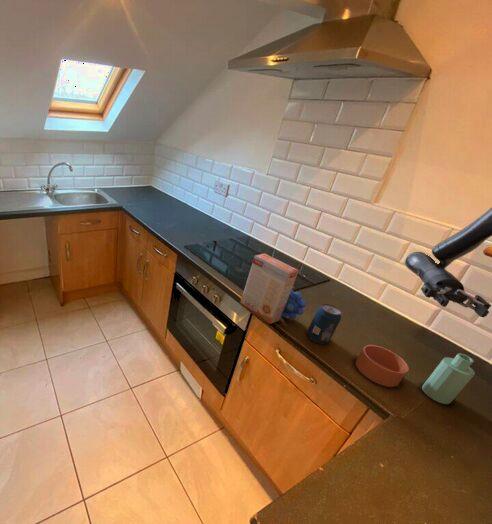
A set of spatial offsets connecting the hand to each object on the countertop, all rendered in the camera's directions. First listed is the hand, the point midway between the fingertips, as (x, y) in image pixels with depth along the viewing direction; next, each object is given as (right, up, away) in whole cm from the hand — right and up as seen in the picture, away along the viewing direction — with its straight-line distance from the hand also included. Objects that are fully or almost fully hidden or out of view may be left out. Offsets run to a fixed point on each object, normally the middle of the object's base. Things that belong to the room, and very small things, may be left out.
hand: (465, 309), depth 83 cm
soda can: (-30, -13, +18) cm, 38 cm away
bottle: (-7, -24, +1) cm, 25 cm away
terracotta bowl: (-19, -20, +7) cm, 28 cm away
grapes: (-38, -8, +26) cm, 47 cm away
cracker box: (-46, -6, +28) cm, 54 cm away
